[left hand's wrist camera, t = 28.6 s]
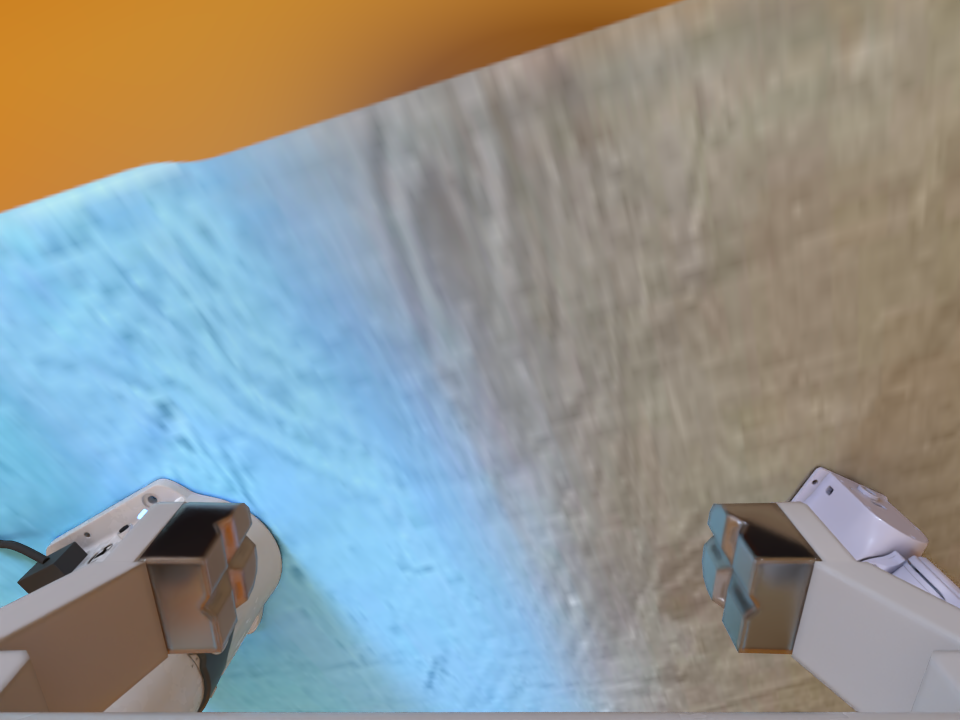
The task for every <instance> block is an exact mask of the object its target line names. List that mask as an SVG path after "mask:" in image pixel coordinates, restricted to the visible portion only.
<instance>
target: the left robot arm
mask: <svg viewBox="0 0 960 720" xmlns="http://www.w3.org/2000/svg"><path fill="white" fill-rule="evenodd" d="M152 496H154V497H155V498H156V499H154V498H153V497H152ZM708 525H709V527H710V529H711V531H712V532H713V534H714V535H713V536H712V537H711V538H710V540H709V541H708V542H707V543H706V544H705V545H704V550H703V558H702V566H703V577H704V581H705V584H706V588H707V590H708V592H709V595H710V597H711V599H712V601H714V602H715V603H717V604H718V605H719V606H721V607H722V608H724V613H723V619H722V621H723V623H724V625H725V627H726V629H727V631H728V633H729V635H730V637H731V639H732V641H733V643H734V645H735V647H736V649H737V651H738V653H770V654H792V656H791V657H792V658H794V659H795V660H796V661H797V662H798V663H800V664H801V665H802V666H803V667H804V668H806V669H807V670H808V671H809V672H810V673H811V674H813V675H814V676H815V677H816V678H817V679H819V680H820V681H821V682H822V683H823V684H825V685H826V686H827V687H828V688H829V689H830V690H832V691H833V692H834V693H835V694H836V695H838V696H839V697H840V698H841V699H842V700H843V701H845V702H846V703H847V704H848V705H849V706H851V707H852V708H853V709H854V710H855V711H857V712H202V711H203V709H204V708H205V706H206V705H207V703H208V701H209V699H210V698H211V697H212V696H213V694H214V692H215V690H216V688H217V686H216V685H217V683H218V681H219V679H220V677H221V676H222V674H223V673H224V671H225V670H226V668H227V666H228V665H229V663H230V662H231V660H232V658H233V657H234V655H235V653H236V652H237V650H238V648H239V647H240V645H241V643H242V642H243V640H244V638H245V637H246V635H247V634H250V633H253V632H254V631H255V630H256V629H257V627H258V625H259V624H260V622H261V619H262V614H263V606H264V604H265V602H266V601H267V600H268V598H269V597H270V596H271V594H272V593H273V592H274V590H275V589H276V587H277V585H278V583H279V580H280V577H281V572H282V559H281V554H280V550H279V547H278V545H277V543H276V541H275V539H274V537H273V536H272V534H271V533H270V531H269V530H268V529H267V528H266V526H265V525H264V524H263V523H262V522H261V521H260V520H259V519H257V518H256V517H255V516H254V515H252V514H251V513H250V510H249V507H248V506H247V505H246V504H245V503H231V502H228V501H225V500H222V499H219V498H215V497H210V496H205V495H201V494H197V493H194V492H192V491H190V490H189V489H187V488H185V487H183V486H182V485H180V484H178V483H176V482H174V481H172V480H169V479H158V480H156V481H154V482H153V483H151V484H149V485H147V486H146V487H144V488H142V489H140V490H139V491H137V492H135V493H134V494H132V495H130V496H128V497H127V498H125V499H123V500H121V501H120V502H118V503H116V504H115V505H113V506H111V507H109V508H108V509H106V510H104V511H102V512H101V513H99V514H97V515H96V516H94V517H92V518H90V519H89V520H87V521H85V522H84V523H82V524H80V525H78V526H77V527H75V528H73V529H71V530H70V531H68V532H66V533H65V534H63V535H61V536H59V537H58V538H56V539H55V540H54V541H52V542H51V544H50V545H49V546H48V547H47V550H46V556H45V555H43V554H41V553H39V552H37V551H35V550H34V549H32V548H30V547H28V546H25V545H23V544H21V543H18V542H15V541H5V540H0V548H8V549H12V550H15V551H17V552H19V553H22V554H24V555H26V556H28V557H29V558H31V559H33V560H35V561H37V563H36V564H35V565H34V566H33V567H32V568H31V569H30V570H29V571H28V572H27V573H26V574H25V575H24V576H23V577H22V578H21V579H20V580H19V581H18V582H17V583H18V584H19V585H20V586H21V587H22V588H23V589H24V590H25V591H26V592H28V593H29V594H28V595H26V596H24V597H22V598H20V599H18V600H16V601H14V602H12V603H10V604H8V605H6V606H4V607H2V608H0V720H960V608H958V607H956V606H954V605H952V604H950V603H948V602H946V601H944V600H942V599H940V598H938V597H936V596H934V595H932V594H930V593H928V592H926V591H924V590H922V589H920V588H918V587H916V586H914V585H912V584H910V583H908V582H906V581H904V580H902V579H900V578H898V577H896V576H894V575H892V574H890V573H888V572H886V571H884V570H882V569H880V568H878V567H877V566H875V565H873V564H871V563H869V562H857V561H856V559H855V558H854V557H853V556H852V555H851V554H850V553H849V551H848V550H847V549H846V548H845V547H844V546H843V545H842V544H841V542H840V541H839V540H838V539H837V538H836V537H835V536H834V534H833V533H832V532H831V531H830V530H829V529H828V528H827V527H826V525H825V524H824V523H823V522H822V521H821V520H820V519H819V517H818V516H817V515H816V514H815V513H814V512H813V511H812V510H811V508H810V507H809V506H808V505H807V504H805V503H802V502H800V501H796V502H771V503H734V504H713V506H712V508H711V510H710V513H709V519H708Z"/></svg>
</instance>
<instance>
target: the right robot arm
mask: <svg viewBox="0 0 960 720" xmlns="http://www.w3.org/2000/svg"><path fill="white" fill-rule="evenodd" d="M814 480H815V482H813V481H814ZM812 482H813V483H812ZM796 501H800V502H802V503H805V504H807V505H808V506H809V507H810V508H811V510H812V511H813V512H814V513H815V514H816V515H817V516H818V517H819V519H820V520H821V521H822V522H823V523H824V524H825V525H826V527H827V528H828V529H829V530H830V531H831V532H832V533H833V534H834V536H835V537H836V538H837V539H838V540H839V541H840V542H841V544H842V545H843V546H844V547H845V548H846V549H847V550H848V551H849V553H850V554H851V555H852V556H853V557H854V558H855V559H856V561H857V562H869V563H871V564H873V565H875V566H877V567H878V568H880V569H882V570H884V571H886V572H888V573H890V574H892V575H894V576H896V577H898V578H900V579H902V580H904V581H906V582H908V583H910V584H912V585H914V586H916V587H918V588H920V589H922V590H924V591H926V592H928V593H930V594H932V595H934V596H936V597H938V598H940V599H942V600H944V601H946V602H948V603H950V604H952V605H954V606H956V607H958V608H960V588H959V587H958V586H957V585H955V584H954V583H953V582H952V581H951V580H950V579H949V578H948V577H947V576H946V575H945V574H944V573H943V572H941V571H940V570H939V569H938V568H937V567H936V566H935V565H934V564H933V563H932V562H930V561H929V560H928V559H927V558H925V557H921V556H922V554H923V551H924V550H925V548H926V546H927V545H928V543H929V541H928V539H927V537H926V536H925V535H924V534H923V533H922V532H921V531H920V530H919V529H918V528H917V527H916V526H915V525H914V524H913V523H911V522H910V521H909V520H908V519H907V518H906V517H905V516H904V515H903V514H902V513H900V512H899V511H898V510H897V509H896V508H895V507H894V506H893V505H892V504H891V503H889V502H888V498H887V497H886V496H885V495H883V494H881V493H878V492H876V491H874V490H872V489H869V488H867V487H865V486H863V485H861V484H858V483H856V482H854V481H852V480H849V479H847V478H845V477H843V476H840V475H838V474H836V473H834V472H832V471H829V470H827V469H825V468H822V467H819V468H817V469H816V470H815V471H814V472H813V473H812V475H811V476H810V477H809V479H808V480H807V481H806V482H805V484H804V485H803V486H802V488H801V489H800V490H799V492H798V493H797V494H796V495H795V497H794V498H793V499H792V501H791V502H796Z"/></svg>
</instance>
